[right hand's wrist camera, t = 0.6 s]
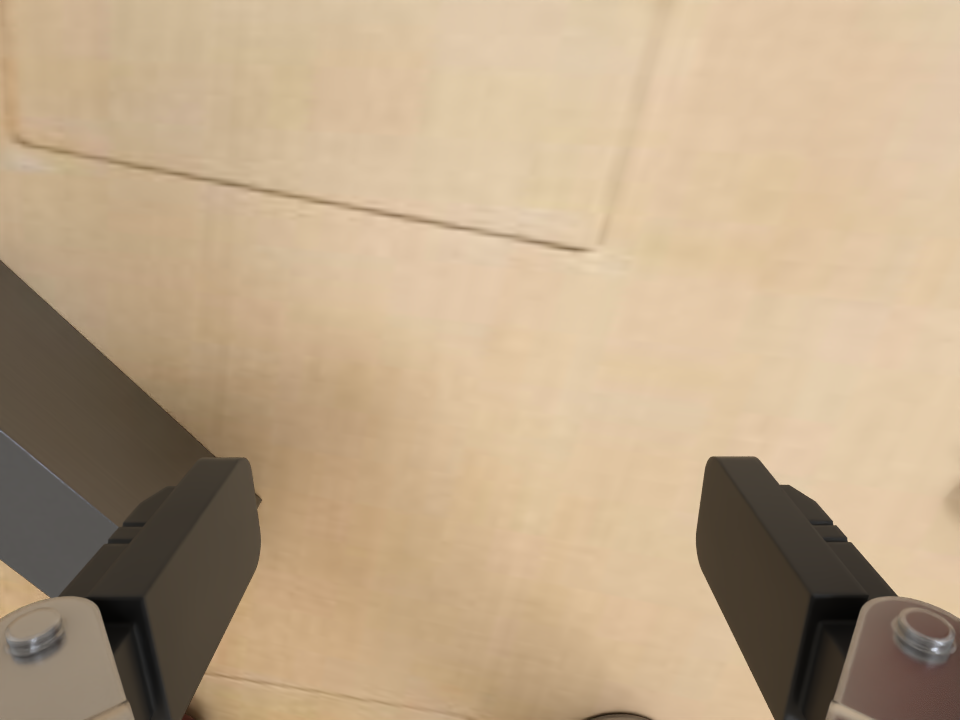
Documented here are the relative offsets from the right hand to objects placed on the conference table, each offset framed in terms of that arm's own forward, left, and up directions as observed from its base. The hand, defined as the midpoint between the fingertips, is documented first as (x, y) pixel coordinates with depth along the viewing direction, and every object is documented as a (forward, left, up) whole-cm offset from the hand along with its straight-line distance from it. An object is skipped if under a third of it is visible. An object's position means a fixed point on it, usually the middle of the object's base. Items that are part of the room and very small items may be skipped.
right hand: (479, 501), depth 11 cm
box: (-7, +25, -27) cm, 37 cm away
